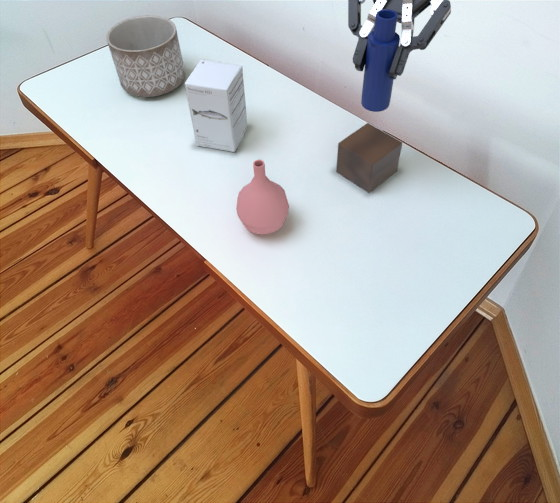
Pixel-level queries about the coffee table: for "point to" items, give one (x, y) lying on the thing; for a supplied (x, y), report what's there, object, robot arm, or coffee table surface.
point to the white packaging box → (217, 104)
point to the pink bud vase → (262, 203)
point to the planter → (146, 55)
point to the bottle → (380, 62)
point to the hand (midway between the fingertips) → (375, 73)
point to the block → (368, 157)
